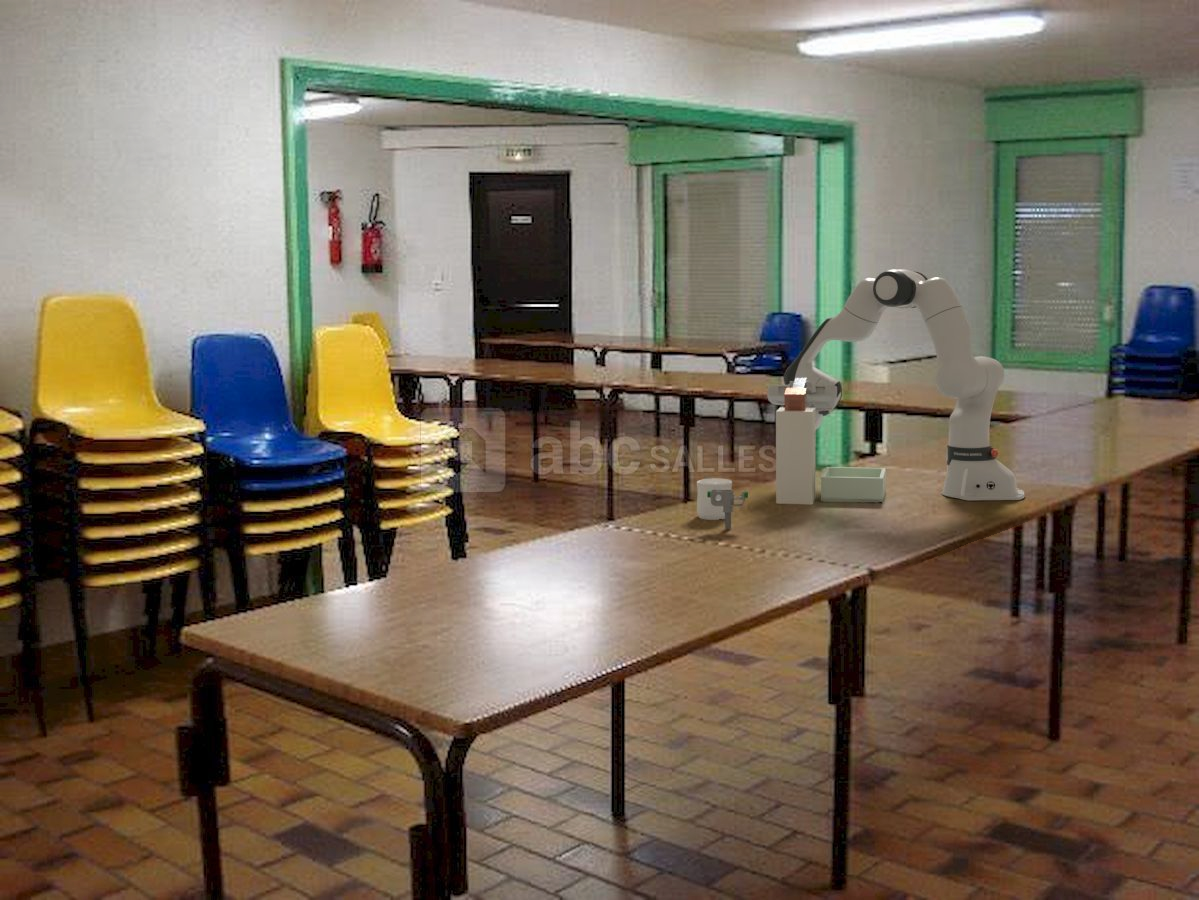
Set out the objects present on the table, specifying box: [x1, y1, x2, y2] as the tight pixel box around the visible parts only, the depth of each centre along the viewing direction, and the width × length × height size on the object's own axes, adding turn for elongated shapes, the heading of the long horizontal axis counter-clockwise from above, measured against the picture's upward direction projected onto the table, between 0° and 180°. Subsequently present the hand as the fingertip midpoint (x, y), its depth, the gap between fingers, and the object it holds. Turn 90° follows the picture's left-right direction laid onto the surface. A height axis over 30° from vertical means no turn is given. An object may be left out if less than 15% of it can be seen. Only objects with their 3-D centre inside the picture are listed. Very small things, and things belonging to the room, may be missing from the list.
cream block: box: [775, 406, 816, 505], centre depth 371 cm, size 10×9×26 cm
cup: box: [696, 477, 733, 521], centre depth 354 cm, size 10×10×10 cm
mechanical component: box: [707, 489, 749, 530], centre depth 338 cm, size 3×10×10 cm, turn 79°
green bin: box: [820, 466, 887, 503], centre depth 377 cm, size 17×17×7 cm
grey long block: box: [784, 378, 807, 411], centre depth 374 cm, size 6×18×5 cm, turn 165°
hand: (800, 383), depth 379 cm, fingers closed on grey long block, 3 cm apart
